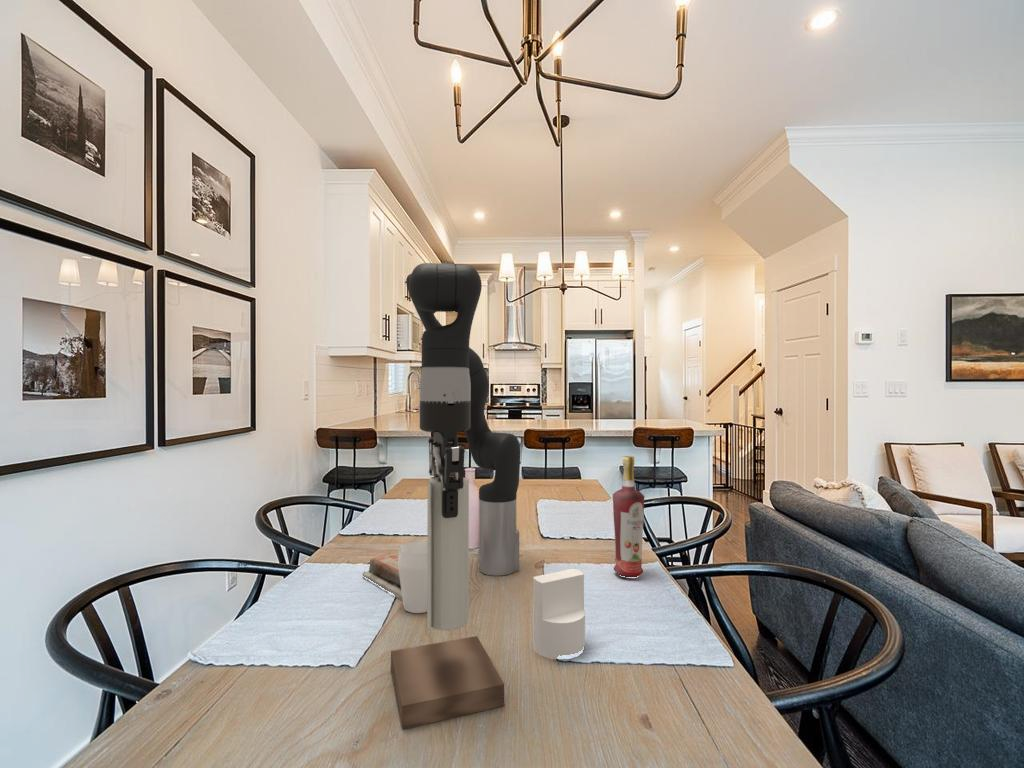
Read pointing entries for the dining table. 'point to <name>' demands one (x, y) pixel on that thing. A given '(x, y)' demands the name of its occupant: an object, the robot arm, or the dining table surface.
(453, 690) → the walnut stand
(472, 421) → the robot arm
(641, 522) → the liquor
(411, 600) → the cup
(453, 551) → the paper towel roll
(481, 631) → the dining table surface
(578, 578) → the cylinder with rectangular tab
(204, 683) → the dining table surface
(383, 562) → the packaged product
